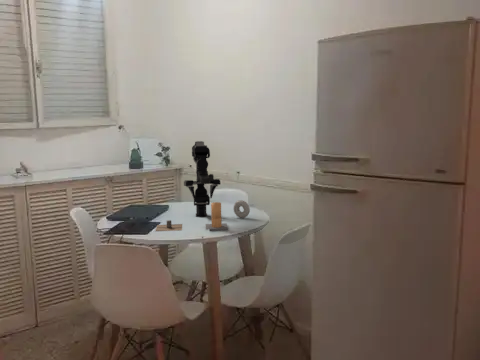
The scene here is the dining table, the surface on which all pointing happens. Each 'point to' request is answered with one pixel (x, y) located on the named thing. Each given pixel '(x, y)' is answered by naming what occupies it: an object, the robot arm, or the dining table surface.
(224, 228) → the mat
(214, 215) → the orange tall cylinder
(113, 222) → the dining table surface
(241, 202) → the donut
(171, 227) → the post board
